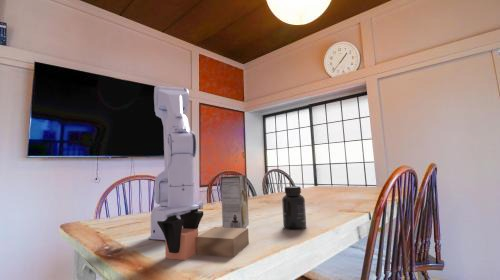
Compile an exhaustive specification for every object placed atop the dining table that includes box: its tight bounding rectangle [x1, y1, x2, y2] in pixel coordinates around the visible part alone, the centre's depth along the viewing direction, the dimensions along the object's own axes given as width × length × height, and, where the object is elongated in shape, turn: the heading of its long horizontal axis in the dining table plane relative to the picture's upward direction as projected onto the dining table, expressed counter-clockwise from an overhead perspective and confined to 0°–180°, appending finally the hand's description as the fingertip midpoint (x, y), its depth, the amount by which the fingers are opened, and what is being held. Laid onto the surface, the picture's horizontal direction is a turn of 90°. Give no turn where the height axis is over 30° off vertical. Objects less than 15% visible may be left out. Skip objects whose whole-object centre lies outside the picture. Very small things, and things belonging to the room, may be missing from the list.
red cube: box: [164, 228, 199, 261], centre depth 55 cm, size 5×5×5 cm
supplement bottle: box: [281, 185, 307, 231], centre depth 75 cm, size 7×7×12 cm
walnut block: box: [195, 226, 250, 258], centre depth 58 cm, size 9×9×4 cm
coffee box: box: [220, 174, 250, 228], centre depth 79 cm, size 9×6×16 cm
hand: (182, 248), depth 55 cm, fingers closed on red cube, 5 cm apart
